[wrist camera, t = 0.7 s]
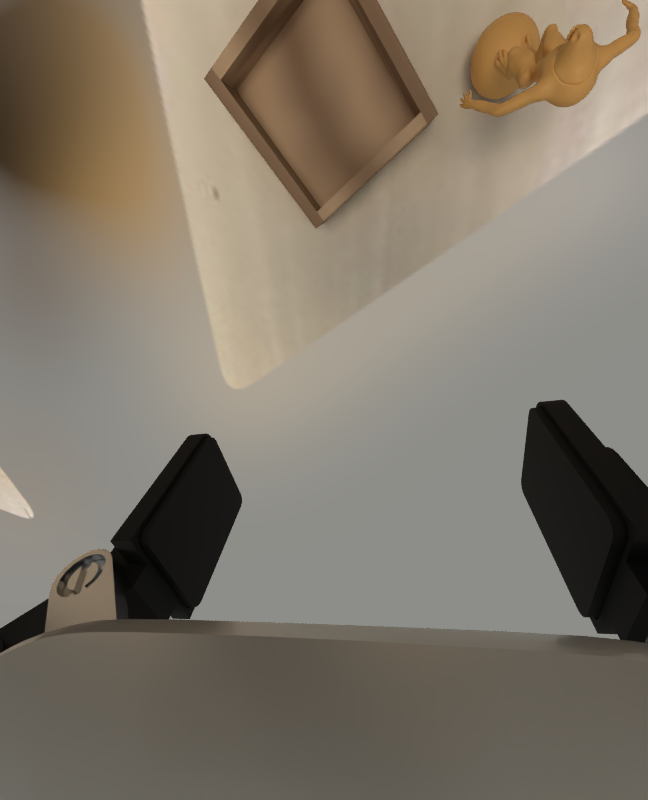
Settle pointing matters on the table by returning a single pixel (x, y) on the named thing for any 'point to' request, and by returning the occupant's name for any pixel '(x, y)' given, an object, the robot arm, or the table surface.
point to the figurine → (540, 62)
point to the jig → (321, 95)
